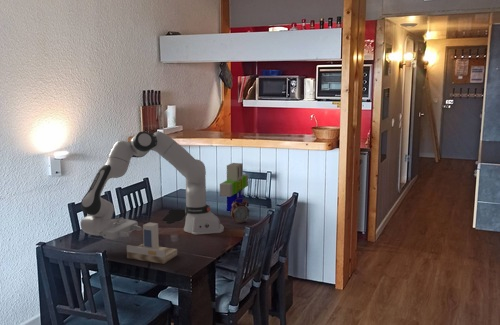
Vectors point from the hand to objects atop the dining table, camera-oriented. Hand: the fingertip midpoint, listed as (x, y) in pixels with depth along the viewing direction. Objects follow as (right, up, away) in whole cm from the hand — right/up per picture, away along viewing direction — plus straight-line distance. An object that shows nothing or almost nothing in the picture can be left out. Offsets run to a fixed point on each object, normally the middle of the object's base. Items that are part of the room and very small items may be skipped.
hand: (134, 231), depth 225 cm
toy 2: (+45, +2, +83) cm, 95 cm away
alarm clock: (+49, -3, +55) cm, 73 cm away
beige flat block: (+8, -12, 0) cm, 15 cm away
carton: (+8, -9, -1) cm, 12 cm away
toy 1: (+8, -1, +68) cm, 68 cm away
